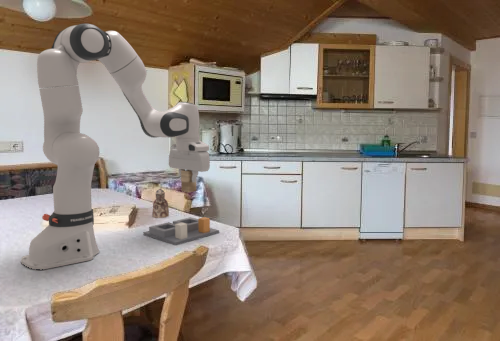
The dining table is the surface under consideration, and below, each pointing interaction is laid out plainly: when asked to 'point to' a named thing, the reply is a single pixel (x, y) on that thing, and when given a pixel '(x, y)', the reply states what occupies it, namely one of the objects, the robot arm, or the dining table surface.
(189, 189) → the wood plug
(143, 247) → the dining table surface
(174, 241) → the socket board
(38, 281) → the dining table surface
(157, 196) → the figurine
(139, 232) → the dining table surface
